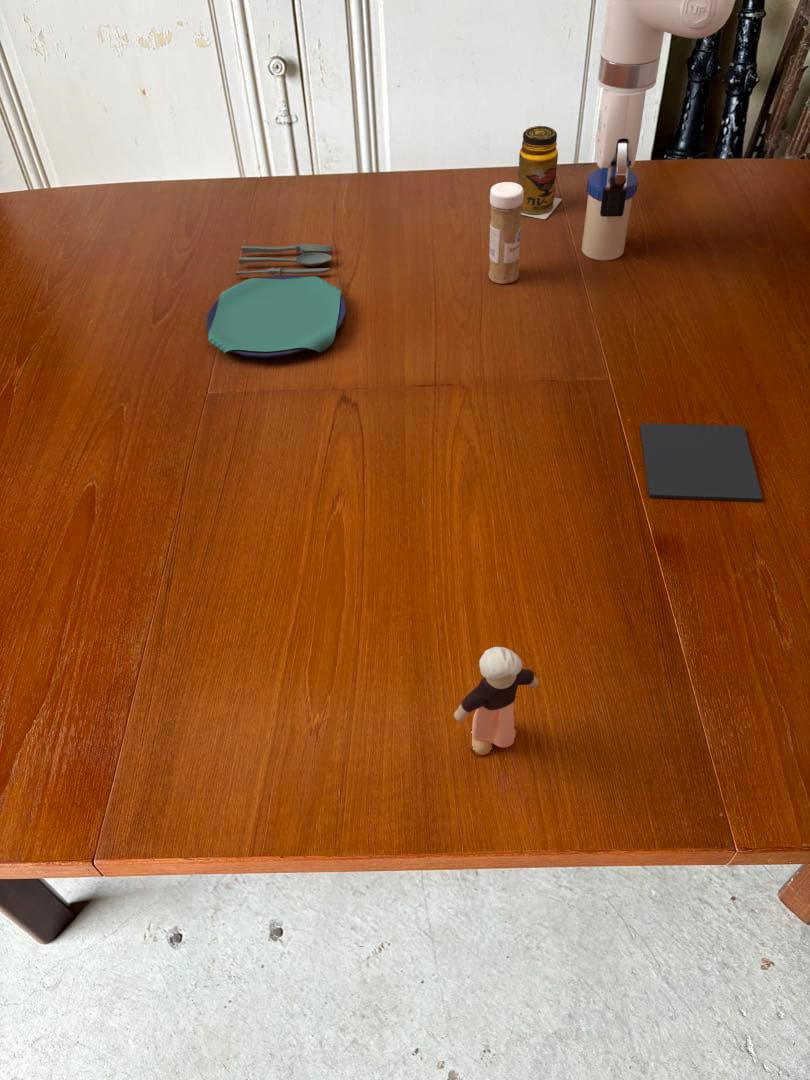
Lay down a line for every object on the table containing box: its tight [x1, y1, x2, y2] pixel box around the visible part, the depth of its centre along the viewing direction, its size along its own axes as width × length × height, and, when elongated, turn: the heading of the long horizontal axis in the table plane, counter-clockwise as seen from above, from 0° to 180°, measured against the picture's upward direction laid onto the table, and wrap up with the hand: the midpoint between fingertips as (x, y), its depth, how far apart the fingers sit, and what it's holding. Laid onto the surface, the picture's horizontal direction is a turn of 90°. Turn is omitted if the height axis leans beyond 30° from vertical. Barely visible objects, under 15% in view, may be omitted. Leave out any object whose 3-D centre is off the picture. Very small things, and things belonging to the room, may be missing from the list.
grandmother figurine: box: [453, 646, 539, 753], centre depth 67 cm, size 8×4×13 cm, turn 126°
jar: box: [581, 193, 634, 261], centre depth 121 cm, size 6×6×11 cm
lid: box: [586, 168, 639, 201], centre depth 117 cm, size 7×7×2 cm
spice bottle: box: [488, 181, 524, 285], centre depth 116 cm, size 5×5×13 cm
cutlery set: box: [205, 242, 347, 359], centre depth 118 cm, size 20×30×2 cm, turn 179°
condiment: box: [517, 125, 563, 220], centre depth 131 cm, size 7×8×12 cm
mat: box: [639, 422, 764, 502], centre depth 93 cm, size 12×12×1 cm
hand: (609, 201), depth 119 cm, fingers closed on lid, 6 cm apart
